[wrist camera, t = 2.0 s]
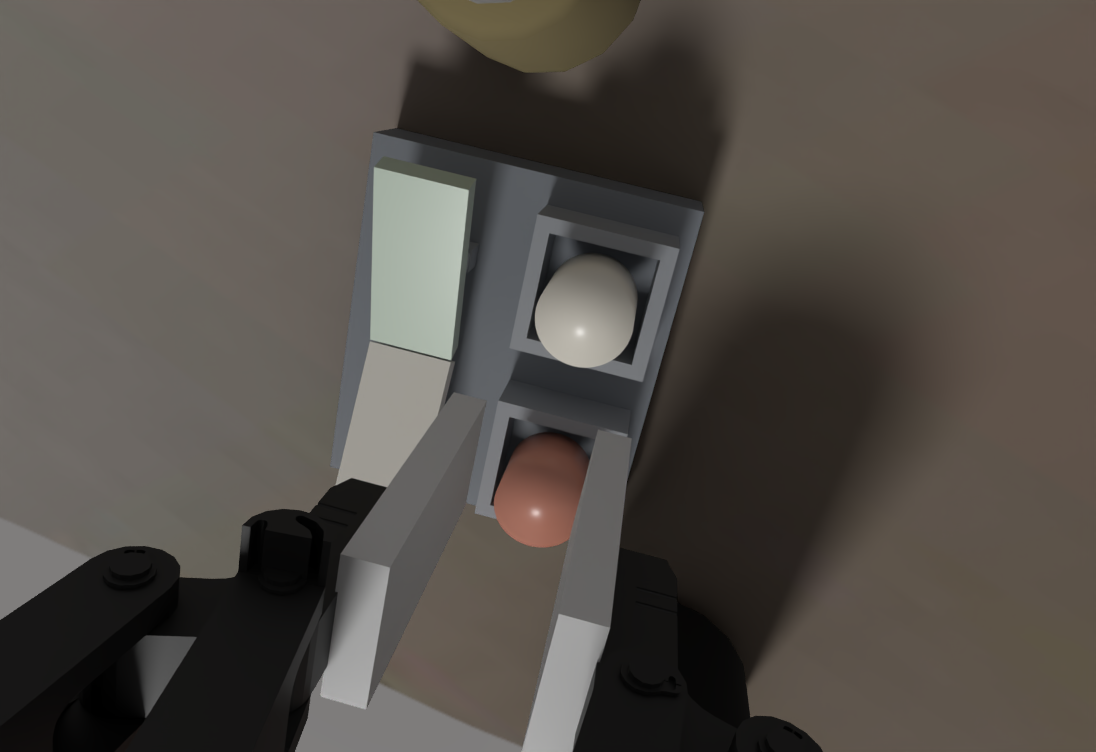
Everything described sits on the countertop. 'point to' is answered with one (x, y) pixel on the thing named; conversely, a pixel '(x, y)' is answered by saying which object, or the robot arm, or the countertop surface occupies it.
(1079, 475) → the countertop surface
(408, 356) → the block
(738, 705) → the coffee jar
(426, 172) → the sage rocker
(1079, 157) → the countertop surface
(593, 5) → the squeeze bottle
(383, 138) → the panel
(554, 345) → the ivory button
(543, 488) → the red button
